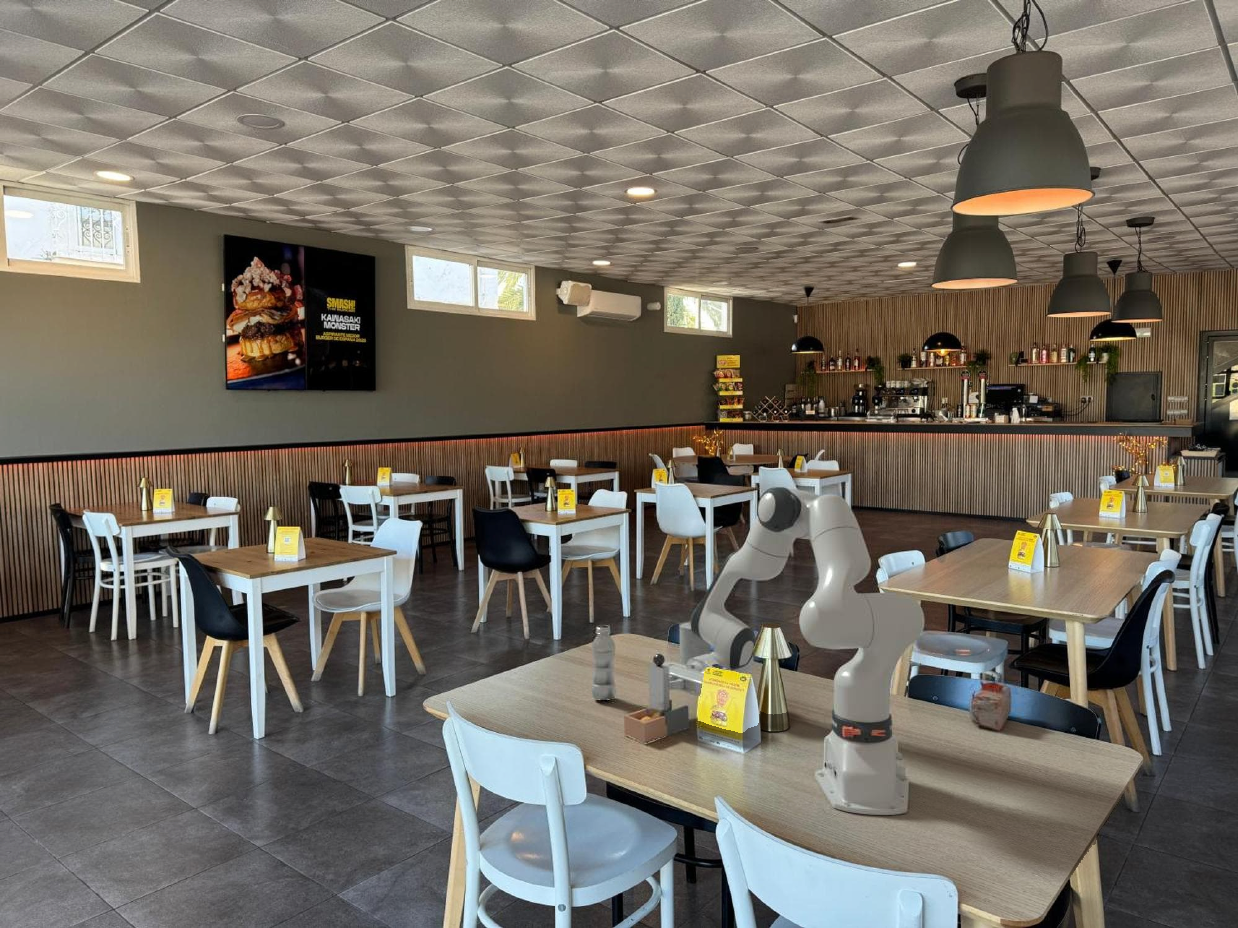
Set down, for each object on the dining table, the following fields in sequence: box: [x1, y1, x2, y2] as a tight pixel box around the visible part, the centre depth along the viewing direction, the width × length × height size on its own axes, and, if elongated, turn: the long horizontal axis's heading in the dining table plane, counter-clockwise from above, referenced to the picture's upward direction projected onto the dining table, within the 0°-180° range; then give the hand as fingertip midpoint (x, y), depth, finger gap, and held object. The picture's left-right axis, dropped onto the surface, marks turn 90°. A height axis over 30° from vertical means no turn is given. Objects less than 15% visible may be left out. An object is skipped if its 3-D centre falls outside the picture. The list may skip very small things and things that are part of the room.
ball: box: [641, 716, 653, 722], centre depth 197 cm, size 4×4×4 cm
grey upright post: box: [646, 653, 671, 719], centre depth 199 cm, size 3×5×16 cm
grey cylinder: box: [679, 620, 711, 664], centre depth 254 cm, size 10×10×12 cm
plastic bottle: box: [591, 624, 617, 700], centre depth 223 cm, size 6×7×20 cm
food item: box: [969, 680, 1012, 732], centre depth 203 cm, size 14×8×10 cm, turn 146°
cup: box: [623, 708, 668, 744], centre depth 197 cm, size 7×7×5 cm
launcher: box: [646, 699, 690, 736], centre depth 202 cm, size 8×7×6 cm
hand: (662, 685), depth 200 cm, fingers closed, pressing on grey upright post
